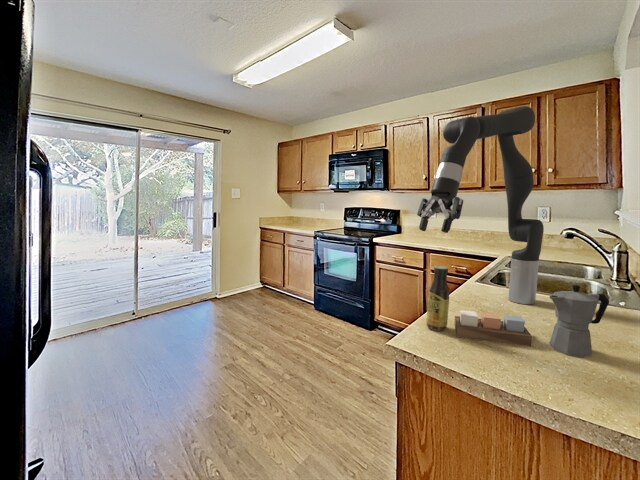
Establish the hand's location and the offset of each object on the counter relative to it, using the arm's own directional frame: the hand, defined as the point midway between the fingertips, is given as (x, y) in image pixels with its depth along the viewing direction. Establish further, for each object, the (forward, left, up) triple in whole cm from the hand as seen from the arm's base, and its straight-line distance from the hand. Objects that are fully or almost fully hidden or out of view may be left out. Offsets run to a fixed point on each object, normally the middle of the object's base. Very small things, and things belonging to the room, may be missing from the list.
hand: (432, 231), depth 95 cm
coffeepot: (+1, +38, -31) cm, 49 cm away
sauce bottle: (-2, +3, -31) cm, 31 cm away
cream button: (-2, +12, -29) cm, 31 cm away
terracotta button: (-2, +18, -29) cm, 34 cm away
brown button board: (-2, +18, -31) cm, 36 cm away
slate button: (-2, +24, -29) cm, 37 cm away
